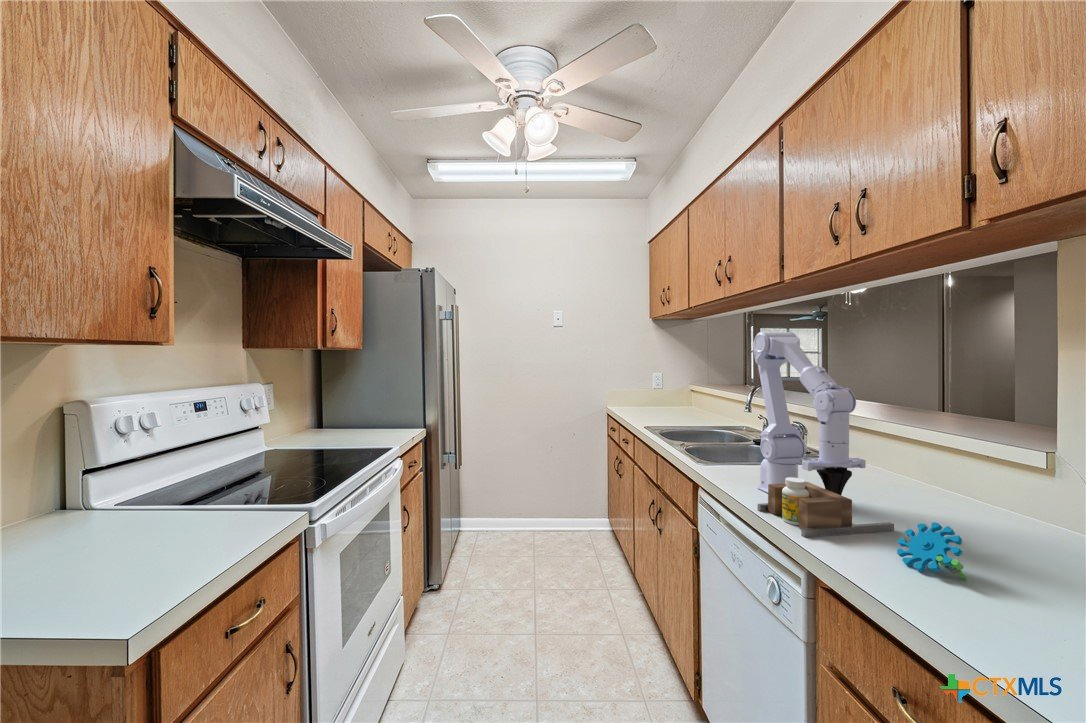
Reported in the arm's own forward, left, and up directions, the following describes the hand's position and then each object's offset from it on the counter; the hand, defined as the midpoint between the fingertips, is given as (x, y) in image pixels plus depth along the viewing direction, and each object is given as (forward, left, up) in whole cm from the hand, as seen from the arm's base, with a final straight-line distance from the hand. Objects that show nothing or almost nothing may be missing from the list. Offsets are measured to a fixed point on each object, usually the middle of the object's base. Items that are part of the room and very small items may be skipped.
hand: (833, 499), depth 101 cm
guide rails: (0, -3, -4) cm, 5 cm away
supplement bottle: (0, -10, -5) cm, 11 cm away
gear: (+23, -1, -5) cm, 24 cm away
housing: (0, -7, -4) cm, 8 cm away
